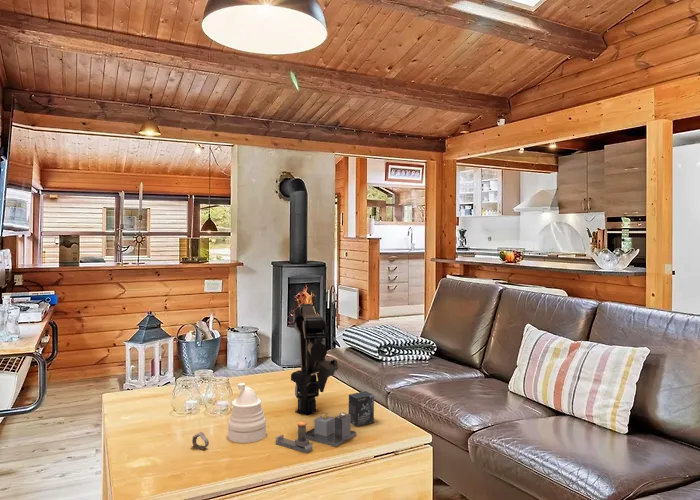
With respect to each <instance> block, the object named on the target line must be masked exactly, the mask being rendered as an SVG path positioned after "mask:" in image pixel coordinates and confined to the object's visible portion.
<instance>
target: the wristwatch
mask: <svg viewBox="0 0 700 500" xmlns="http://www.w3.org/2000/svg"><path fill="white" fill-rule="evenodd" d="M198 437H200V438H201V439H202V440H203V442H204V445H199V444H198V443H197V440H198ZM191 441H192V445H193V448H195V449H199V450H205V449H206V448H207V447H208V446H209V443H210V442H209V439H208V437H206V435H205V433H204V432H202V431H200V432H198V433H196V434H194V435H193V436H192V440H191Z"/></svg>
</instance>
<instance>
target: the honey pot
mask: <svg viewBox="0 0 700 500" xmlns="http://www.w3.org/2000/svg"><path fill="white" fill-rule="evenodd" d="M237 388H238V389H239V390H240V392H239V394H238V395H237V396H236V398H235V399H234V400H232V401H231V406H232V410H231V411H230V415H229V419H228V422H227V439H228V440H230V442H232V443H238V444H248V443H255V442H259V441H261V440H263V439H265V437H266V436H267V419H266V417H265V413H264V409H263V407H262V400H261V399H260V398H258V395H257V394H256V392H255V391H254V390H253V389H252V388H251V387H249V386H246V383H244V382H240V383H238V384H237Z"/></svg>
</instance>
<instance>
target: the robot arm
mask: <svg viewBox="0 0 700 500" xmlns="http://www.w3.org/2000/svg"><path fill="white" fill-rule="evenodd" d="M315 310H316V309H314V304H313V303H301V304H299V306H298V307H297V308H296V309H294V311H293V314H292V322H293V324H294V328H295V331H296V332H297V333H298V334H299V335H298V336H299V337H298V338H299V355H300V356H299V361H300V370H295V371H293V372H292V373H291V374H290V381H291V382H293V383H295V388H294V395H295V398H296V399H297V409H296V410H295V411H294V412H295V413H298V414H301V415H306V416H310V415H311V414H313V413H315V412H317V411H319V409H318V408H317V400H316V397H317V398H318V397H319V396H320V393H324V390H325V387H326V383H327V381H328V379H329V377H331V376H334V375H335V372H336V371H337V370H338V366H339V365H338V360H336V359H335V358H334V359H332V360H331V361H330V360H326V356H327V354H328V349H327V346H326V345H325V343H324V340H323V339H328V335H329V331H328V326H327V322H326V320H325V319H324V318H323V317H322V315H318V314H317V313H316V311H315Z"/></svg>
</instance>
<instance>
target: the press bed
mask: <svg viewBox="0 0 700 500" xmlns="http://www.w3.org/2000/svg"><path fill="white" fill-rule="evenodd" d="M334 418H335V431H333V432H332V433H330V434H328V435H323V434H319V433H316V432H315V427H314V428H311V429H310V430H307V431H306V439H308V440H309V441H312V442H316V443H320V444H324V445H327V446H329V447H333V448H337V447H339V446H340V445H342V444H345V442H347V441H350V440H351V439H353V438H354V437H356V436H357V431H354V430H352V429H351V426H352V424H351V415H350V414H349V413H346V412H343V411H342V412H340V413H339V414H338V415H336V416H335V417H334Z"/></svg>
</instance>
